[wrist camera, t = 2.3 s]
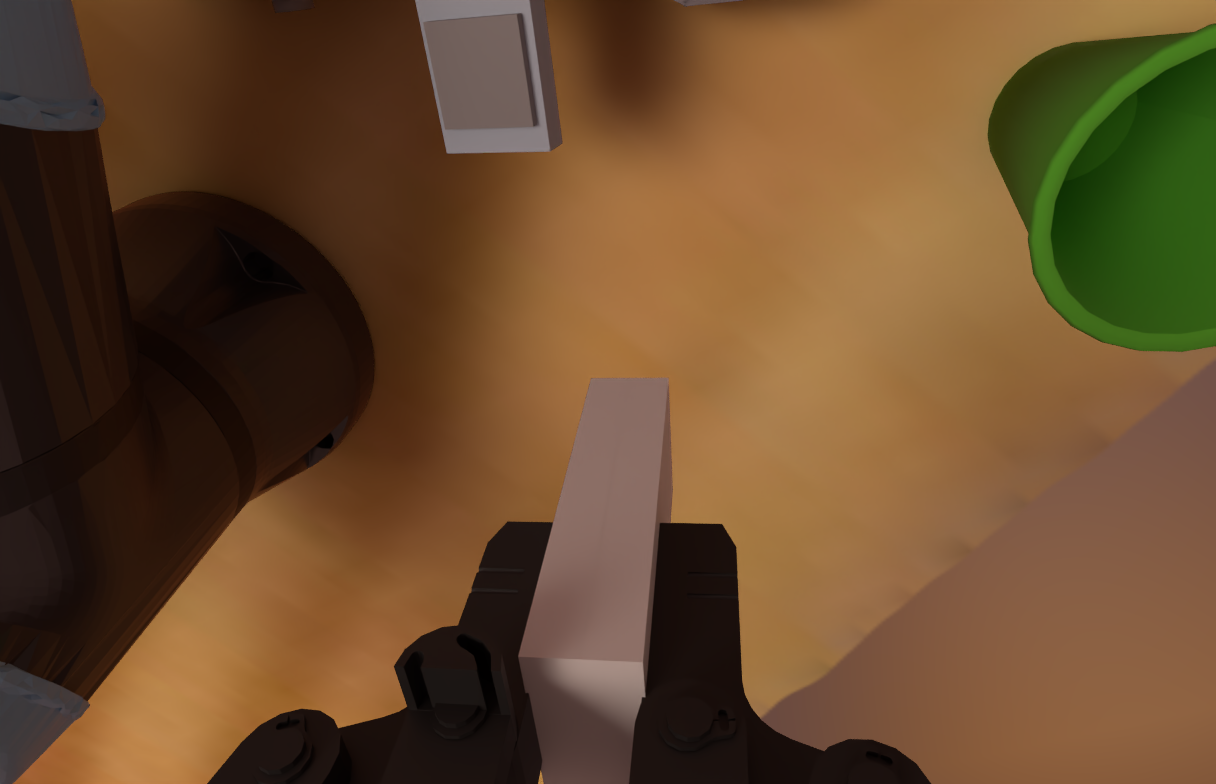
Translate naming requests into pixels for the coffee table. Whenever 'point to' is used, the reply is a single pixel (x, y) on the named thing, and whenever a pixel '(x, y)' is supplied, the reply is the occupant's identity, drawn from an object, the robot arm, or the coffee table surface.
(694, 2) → the dish
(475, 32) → the grey slab
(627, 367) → the coffee table surface
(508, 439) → the coffee table surface
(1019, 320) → the coffee table surface
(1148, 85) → the cup
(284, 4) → the fulcrum
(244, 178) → the coffee table surface
